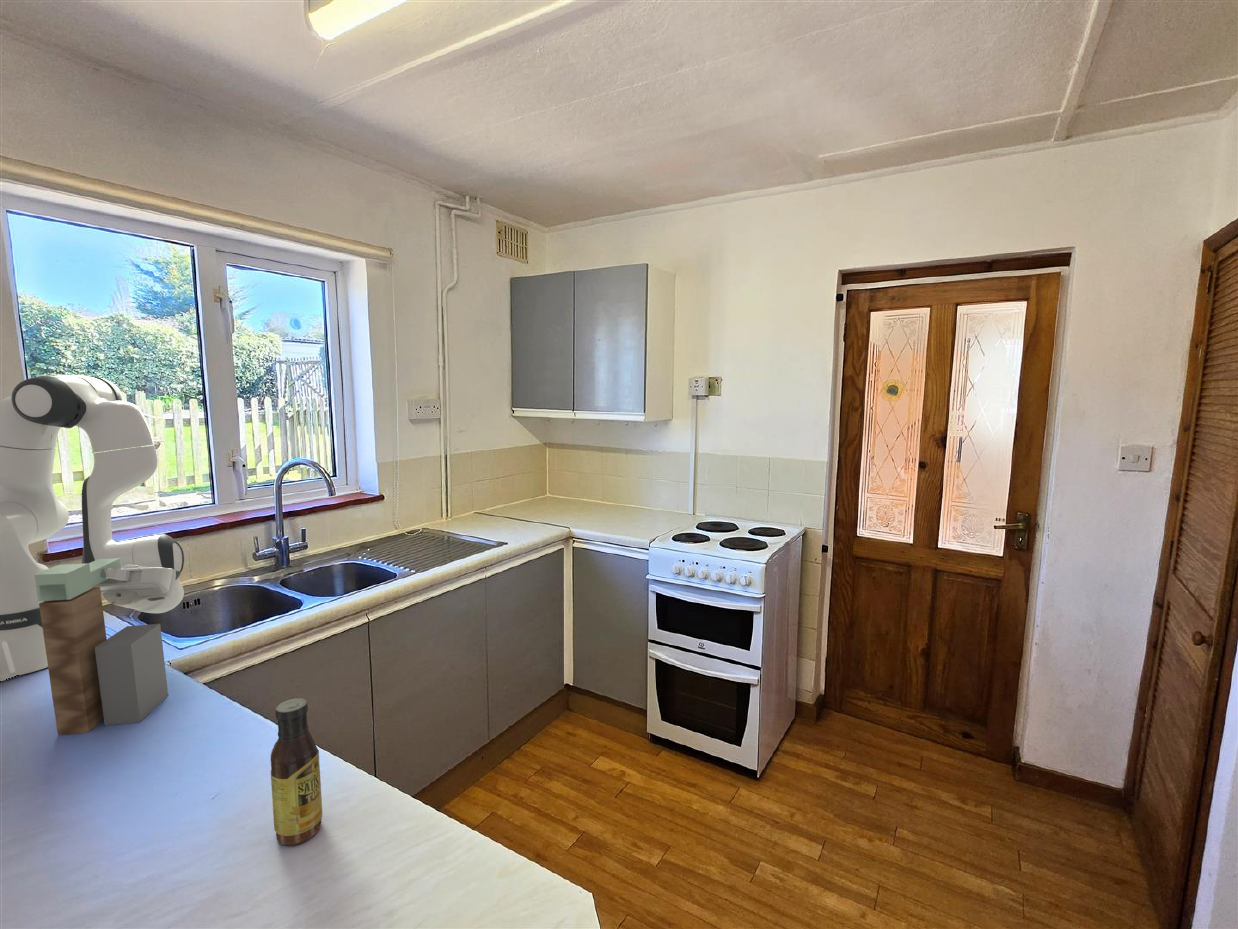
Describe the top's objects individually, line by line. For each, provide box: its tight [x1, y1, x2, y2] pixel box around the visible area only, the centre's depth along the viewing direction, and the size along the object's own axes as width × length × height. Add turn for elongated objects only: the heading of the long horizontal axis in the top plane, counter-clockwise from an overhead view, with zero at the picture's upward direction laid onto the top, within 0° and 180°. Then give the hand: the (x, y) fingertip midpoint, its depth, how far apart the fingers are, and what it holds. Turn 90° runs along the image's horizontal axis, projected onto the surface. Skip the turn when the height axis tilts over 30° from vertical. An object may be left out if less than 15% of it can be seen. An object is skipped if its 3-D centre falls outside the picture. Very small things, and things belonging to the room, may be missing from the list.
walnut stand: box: [39, 587, 108, 736], centre depth 112 cm, size 5×8×26 cm, turn 12°
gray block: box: [95, 623, 169, 726], centre depth 117 cm, size 6×10×16 cm, turn 12°
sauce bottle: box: [270, 697, 323, 846], centre depth 84 cm, size 7×6×20 cm
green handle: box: [35, 558, 121, 601], centre depth 113 cm, size 5×16×5 cm, turn 12°
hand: (89, 573), depth 115 cm, fingers closed on green handle, 4 cm apart
